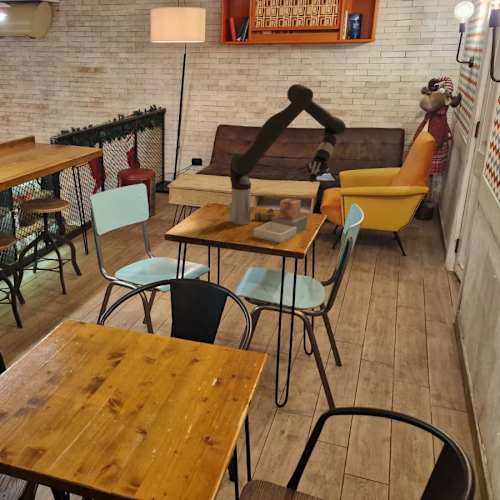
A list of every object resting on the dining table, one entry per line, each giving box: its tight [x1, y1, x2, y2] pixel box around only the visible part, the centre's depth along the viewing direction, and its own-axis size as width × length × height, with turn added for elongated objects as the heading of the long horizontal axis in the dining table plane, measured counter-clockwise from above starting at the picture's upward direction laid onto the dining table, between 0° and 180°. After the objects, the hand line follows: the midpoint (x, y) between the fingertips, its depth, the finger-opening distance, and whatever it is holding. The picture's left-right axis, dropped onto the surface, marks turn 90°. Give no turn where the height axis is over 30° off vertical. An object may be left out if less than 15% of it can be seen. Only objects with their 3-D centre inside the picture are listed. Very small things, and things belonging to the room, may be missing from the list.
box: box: [253, 221, 297, 244], centre depth 214 cm, size 14×14×4 cm
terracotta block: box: [279, 197, 302, 220], centre depth 222 cm, size 7×7×8 cm
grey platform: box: [272, 214, 308, 235], centre depth 224 cm, size 12×12×6 cm
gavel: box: [254, 208, 277, 222], centre depth 245 cm, size 21×5×10 cm
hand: (311, 181), depth 234 cm, fingers closed
